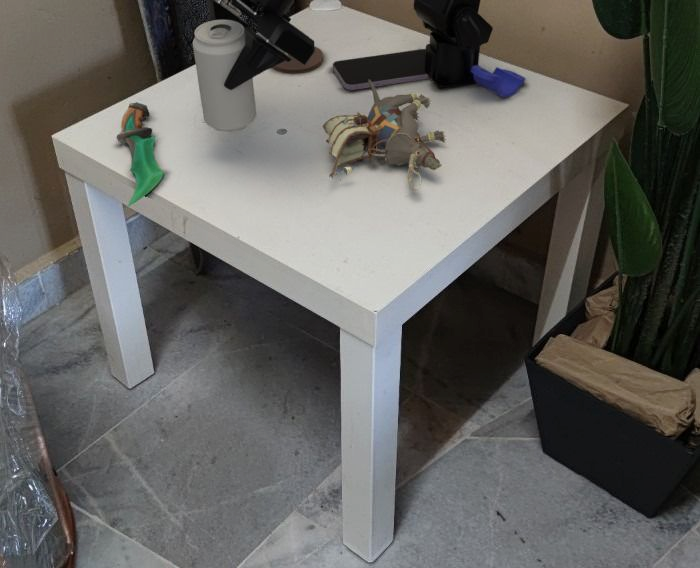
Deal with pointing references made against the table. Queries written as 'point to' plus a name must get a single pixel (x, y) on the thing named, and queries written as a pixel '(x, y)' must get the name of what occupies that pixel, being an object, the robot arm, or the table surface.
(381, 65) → the smartphone
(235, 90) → the beverage can
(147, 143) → the knife
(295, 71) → the coaster
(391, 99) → the figurine
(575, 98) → the table surface
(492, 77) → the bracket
